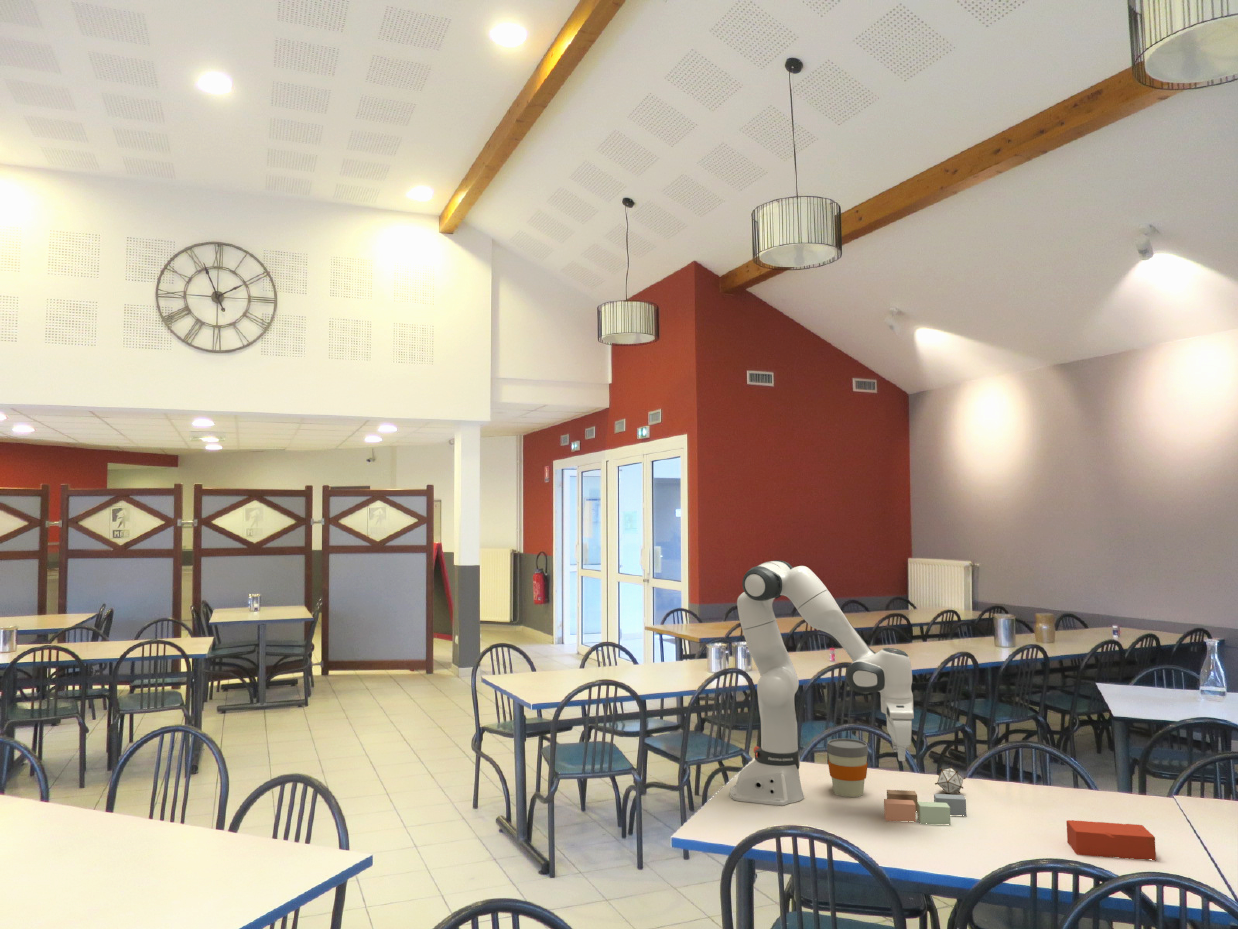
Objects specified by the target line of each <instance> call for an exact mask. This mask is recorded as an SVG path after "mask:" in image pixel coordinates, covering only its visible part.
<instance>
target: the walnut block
mask: <svg viewBox="0 0 1238 929" xmlns="http://www.w3.org/2000/svg"><path fill="white" fill-rule="evenodd" d="M886 799H896V800H913V801H914V803H915V807H916V811H917V802H918V794H917V792H916V791H915V790H904V789H903V790H902V789H901V790H900V789H886Z"/></svg>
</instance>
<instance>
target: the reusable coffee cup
mask: <svg viewBox="0 0 1238 929" xmlns="http://www.w3.org/2000/svg"><path fill="white" fill-rule="evenodd" d="M868 749H869V748H868V743H867V742H865V741H862V740H860V739H854V738H835V739H834V738H833V739H829V740H828V741H827V745H826V753H827V755H828V760H827V762H828V763H827V765H828V771H829V776H830V778H831V784H832V789H833V793H834V794H835V795H837V796H841V797H848V798H857V797H861V796H863V795H864V791H865V790H864V789H865V780H866V778H867V775H868V761H867V759H868V755H869V750H868Z"/></svg>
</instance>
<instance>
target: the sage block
mask: <svg viewBox="0 0 1238 929" xmlns="http://www.w3.org/2000/svg"><path fill="white" fill-rule="evenodd" d="M916 813H917V821H918V820H919V821H920V822H919V821H918V822H919V824H920V823H921V824H920V825H927V824H949V825H948V826H951V825H952V824H951V816H950V807H949V805H948V804H947V803H939V802H934V801H917V812H916ZM926 823H927V824H926Z"/></svg>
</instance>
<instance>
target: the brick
mask: <svg viewBox="0 0 1238 929" xmlns="http://www.w3.org/2000/svg"><path fill="white" fill-rule="evenodd" d="M1066 837H1067V840H1066V842H1067V844H1068V845H1069V846H1070V847H1071V849H1072V850H1073V852H1074V853H1075V854H1076V855H1077V856H1089V857H1100V856H1103V858H1113V857H1119V858H1118V859H1125V858H1129V859H1128V860H1131V859H1130V858H1134V859H1133V860H1138V859H1152V860H1155V859H1156V860H1157V855H1156V837H1155V836H1154V835H1153V834H1152V833H1151V832H1150V831H1149V830H1148V829H1147V828H1146V827H1145V826H1144V825H1142V824H1133V823H1119V822H1118V823H1115V822H1103V821H1088V820H1072V819H1071V820H1066ZM1156 860H1155V861H1156Z"/></svg>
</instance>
